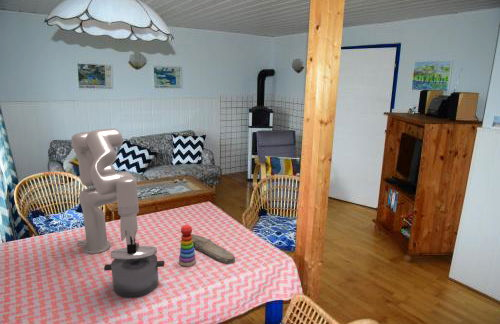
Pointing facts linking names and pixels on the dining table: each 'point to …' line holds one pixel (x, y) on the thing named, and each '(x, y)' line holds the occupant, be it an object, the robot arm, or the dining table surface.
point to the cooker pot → (134, 276)
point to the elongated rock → (212, 249)
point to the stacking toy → (187, 247)
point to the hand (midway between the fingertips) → (132, 252)
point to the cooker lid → (140, 253)
